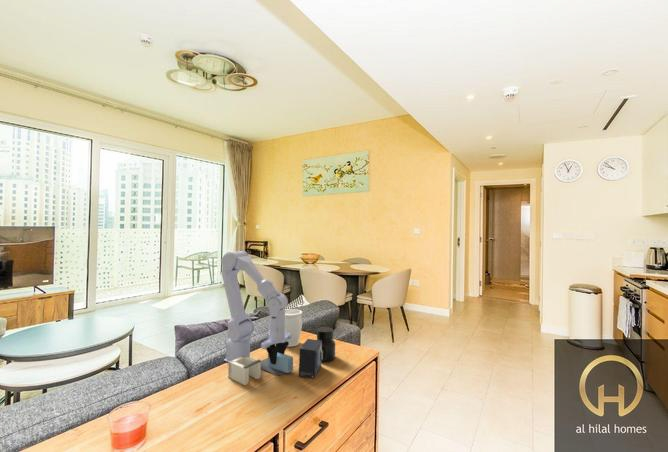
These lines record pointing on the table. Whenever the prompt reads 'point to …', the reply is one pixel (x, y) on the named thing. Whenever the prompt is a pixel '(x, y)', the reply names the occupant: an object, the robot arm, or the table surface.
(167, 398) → the table surface
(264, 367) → the mat
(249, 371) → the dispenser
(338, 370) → the table surface
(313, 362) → the small box
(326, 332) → the ink bottle
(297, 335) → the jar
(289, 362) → the slab
